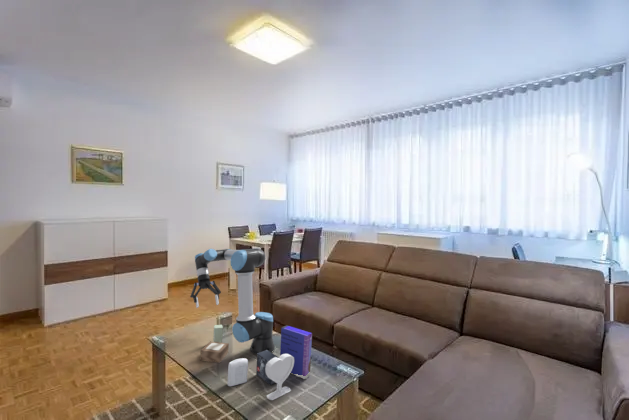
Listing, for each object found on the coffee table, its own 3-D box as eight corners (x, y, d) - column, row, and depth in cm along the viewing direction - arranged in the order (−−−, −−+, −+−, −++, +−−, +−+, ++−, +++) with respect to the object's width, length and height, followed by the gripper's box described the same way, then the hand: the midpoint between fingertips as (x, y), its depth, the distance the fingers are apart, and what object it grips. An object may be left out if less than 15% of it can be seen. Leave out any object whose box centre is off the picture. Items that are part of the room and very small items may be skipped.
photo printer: (245, 378, 169) (246, 355, 168) (248, 382, 165) (249, 358, 165) (226, 383, 163) (227, 359, 163) (229, 387, 159) (230, 363, 159)
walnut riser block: (228, 353, 195) (228, 343, 195) (220, 362, 183) (220, 352, 183) (209, 350, 196) (210, 341, 196) (200, 360, 184) (200, 349, 184)
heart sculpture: (269, 401, 150) (271, 364, 149) (263, 396, 153) (264, 360, 153) (294, 389, 161) (295, 354, 160) (287, 384, 164) (289, 350, 164)
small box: (255, 374, 172) (256, 353, 172) (265, 370, 177) (266, 349, 177) (270, 385, 163) (271, 362, 163) (280, 380, 168) (281, 358, 168)
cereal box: (309, 375, 174) (312, 332, 173) (305, 379, 170) (307, 335, 169) (284, 365, 183) (286, 324, 182) (279, 369, 179) (281, 327, 178)
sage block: (221, 342, 208) (221, 324, 208) (222, 345, 204) (222, 327, 204) (213, 343, 207) (214, 325, 206) (213, 346, 202) (214, 328, 202)
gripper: (218, 276, 229) (223, 305, 220) (182, 279, 212) (186, 310, 204) (222, 272, 224) (227, 301, 215) (186, 274, 208) (190, 306, 199)
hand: (207, 305), depth 209 cm, fingers open, 13 cm apart
